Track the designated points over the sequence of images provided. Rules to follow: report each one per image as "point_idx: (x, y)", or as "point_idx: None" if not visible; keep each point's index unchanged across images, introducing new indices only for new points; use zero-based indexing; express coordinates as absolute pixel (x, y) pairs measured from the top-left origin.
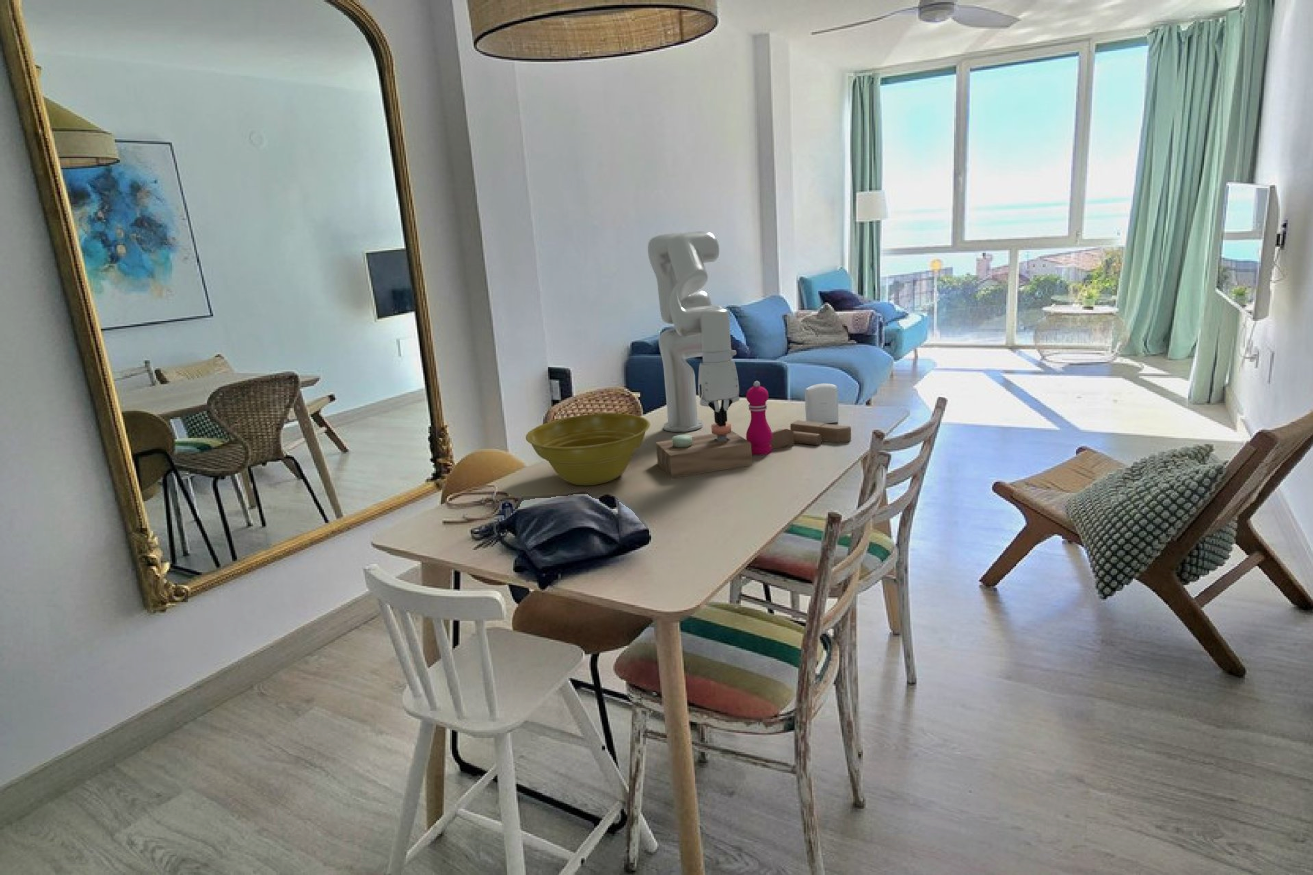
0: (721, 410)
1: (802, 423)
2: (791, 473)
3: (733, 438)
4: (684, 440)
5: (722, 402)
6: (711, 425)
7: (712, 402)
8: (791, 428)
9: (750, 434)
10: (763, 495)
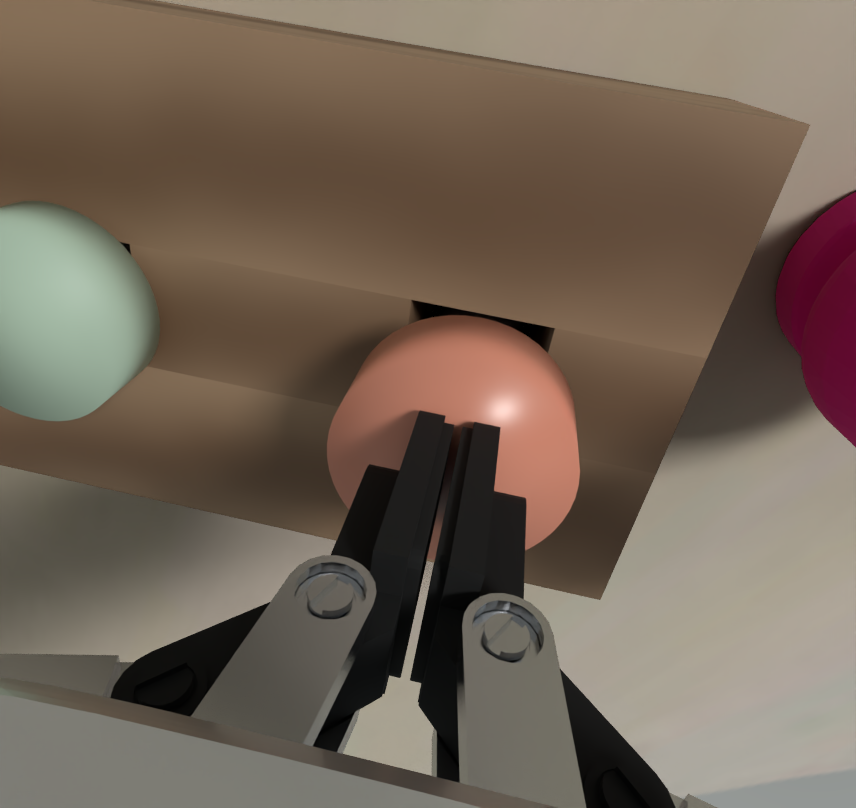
0: (430, 646)
1: None
2: (645, 680)
3: (580, 417)
4: (34, 414)
5: (480, 746)
6: (337, 415)
7: (237, 718)
8: None
9: (838, 387)
10: (380, 743)
